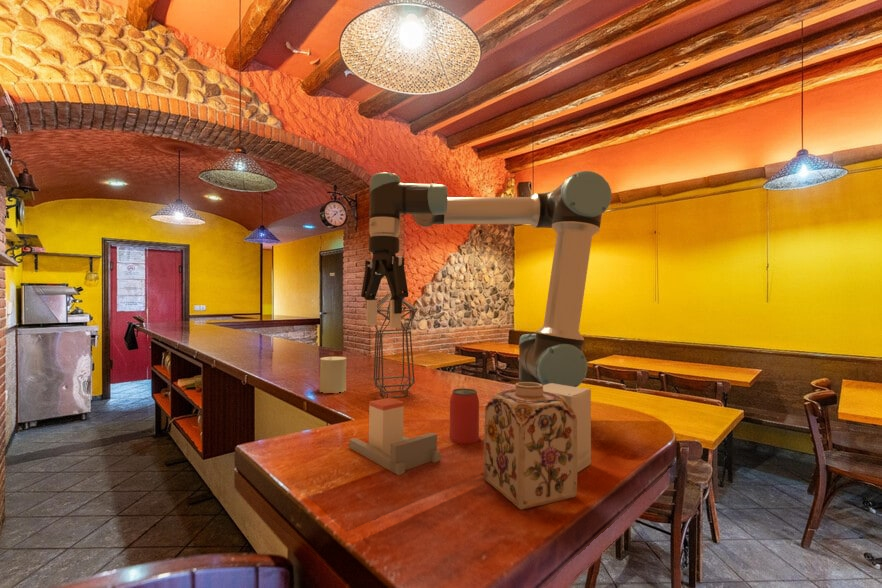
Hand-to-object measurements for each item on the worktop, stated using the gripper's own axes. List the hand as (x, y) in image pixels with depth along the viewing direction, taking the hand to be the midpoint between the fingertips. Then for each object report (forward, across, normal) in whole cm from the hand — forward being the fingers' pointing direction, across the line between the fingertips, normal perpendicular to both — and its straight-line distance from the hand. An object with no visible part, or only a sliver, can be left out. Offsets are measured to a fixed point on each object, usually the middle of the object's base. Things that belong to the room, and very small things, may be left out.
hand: (382, 326), depth 98 cm
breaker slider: (+24, +15, -9) cm, 30 cm away
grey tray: (+26, +18, -9) cm, 33 cm away
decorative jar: (+26, +42, +2) cm, 49 cm away
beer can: (+26, +20, +8) cm, 34 cm away
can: (+26, -47, +11) cm, 55 cm away
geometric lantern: (+26, -28, +23) cm, 45 cm away
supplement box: (+26, +40, +15) cm, 50 cm away
